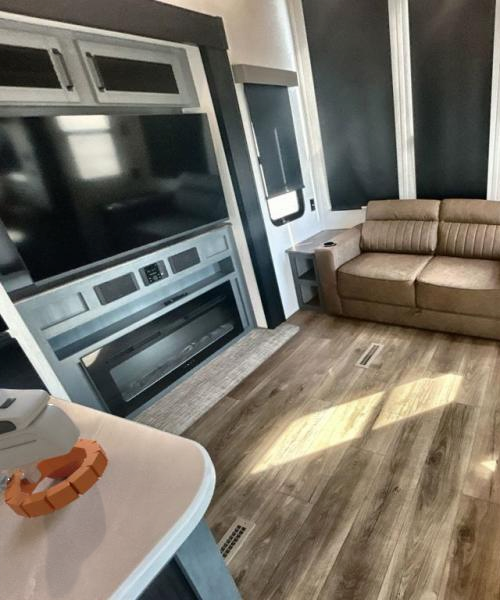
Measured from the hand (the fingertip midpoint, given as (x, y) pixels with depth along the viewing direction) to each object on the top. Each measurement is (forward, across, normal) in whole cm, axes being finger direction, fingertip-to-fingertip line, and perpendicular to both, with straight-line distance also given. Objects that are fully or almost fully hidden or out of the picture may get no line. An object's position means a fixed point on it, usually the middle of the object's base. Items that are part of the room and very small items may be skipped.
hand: (22, 483), depth 57 cm
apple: (+15, -8, +17) cm, 24 cm away
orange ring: (+2, +5, 0) cm, 5 cm away
